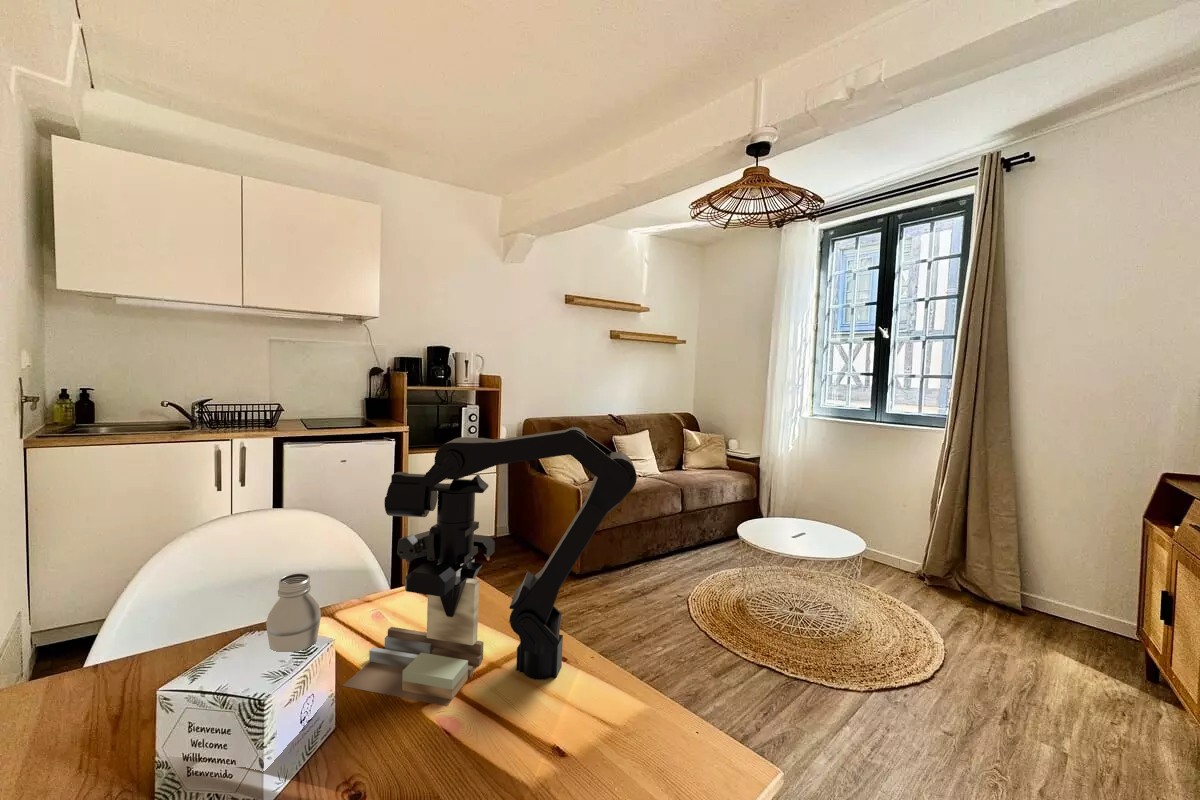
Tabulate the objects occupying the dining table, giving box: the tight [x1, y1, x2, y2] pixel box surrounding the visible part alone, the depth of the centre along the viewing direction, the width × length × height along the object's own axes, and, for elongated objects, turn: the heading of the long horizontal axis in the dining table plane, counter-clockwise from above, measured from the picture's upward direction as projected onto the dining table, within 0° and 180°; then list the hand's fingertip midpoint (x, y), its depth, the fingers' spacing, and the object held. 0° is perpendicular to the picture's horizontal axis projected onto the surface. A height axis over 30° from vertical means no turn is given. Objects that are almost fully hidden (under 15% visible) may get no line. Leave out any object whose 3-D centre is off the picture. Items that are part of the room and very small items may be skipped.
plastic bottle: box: [265, 572, 322, 652], centre depth 68 cm, size 6×7×20 cm
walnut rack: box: [342, 626, 485, 707], centre depth 79 cm, size 17×12×4 cm
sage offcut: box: [402, 653, 468, 690], centre depth 76 cm, size 8×5×2 cm, turn 79°
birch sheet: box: [426, 578, 480, 645], centre depth 81 cm, size 8×2×10 cm, turn 79°
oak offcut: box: [402, 670, 469, 701], centre depth 76 cm, size 8×5×2 cm, turn 79°
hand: (452, 613), depth 81 cm, fingers closed on birch sheet, 2 cm apart
